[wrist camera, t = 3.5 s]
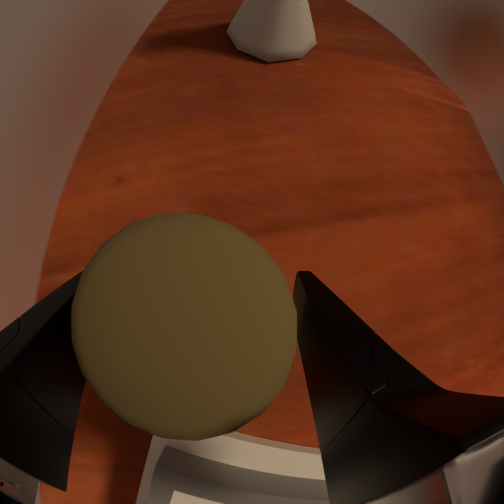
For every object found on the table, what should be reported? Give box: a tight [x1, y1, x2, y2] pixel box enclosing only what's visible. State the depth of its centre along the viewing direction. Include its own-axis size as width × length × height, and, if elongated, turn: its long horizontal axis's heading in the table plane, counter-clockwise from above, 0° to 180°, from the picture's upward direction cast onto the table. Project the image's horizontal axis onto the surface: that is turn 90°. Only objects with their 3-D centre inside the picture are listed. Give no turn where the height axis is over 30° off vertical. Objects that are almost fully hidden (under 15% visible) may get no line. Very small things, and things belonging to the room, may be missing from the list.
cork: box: [71, 213, 297, 441], centre depth 10 cm, size 6×6×11 cm
